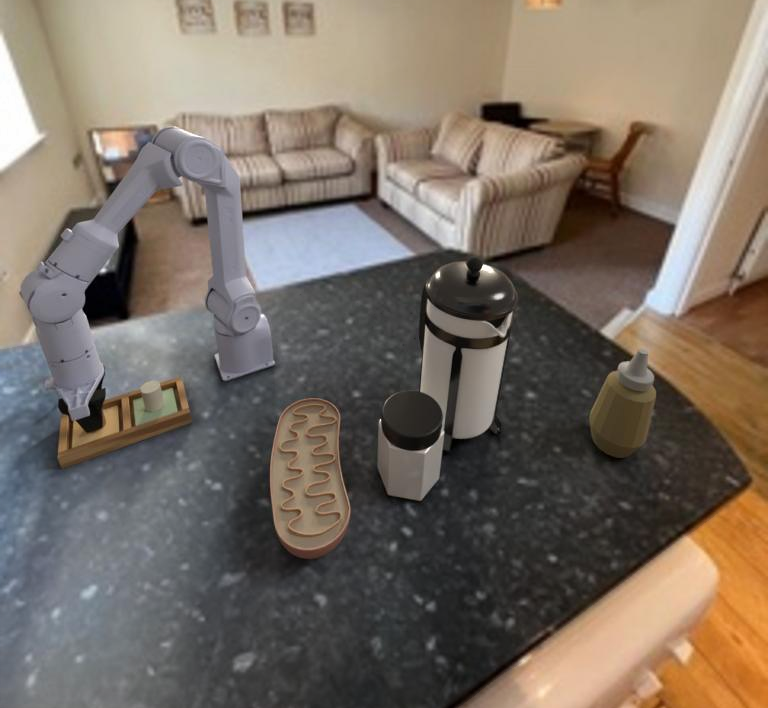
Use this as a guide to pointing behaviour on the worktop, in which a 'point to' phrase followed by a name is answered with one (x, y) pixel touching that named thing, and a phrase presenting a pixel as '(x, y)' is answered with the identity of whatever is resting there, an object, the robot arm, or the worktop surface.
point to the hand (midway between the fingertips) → (94, 420)
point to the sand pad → (100, 434)
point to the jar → (410, 444)
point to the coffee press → (465, 344)
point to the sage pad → (156, 415)
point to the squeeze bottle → (624, 408)
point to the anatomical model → (308, 479)
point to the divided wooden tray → (123, 426)
